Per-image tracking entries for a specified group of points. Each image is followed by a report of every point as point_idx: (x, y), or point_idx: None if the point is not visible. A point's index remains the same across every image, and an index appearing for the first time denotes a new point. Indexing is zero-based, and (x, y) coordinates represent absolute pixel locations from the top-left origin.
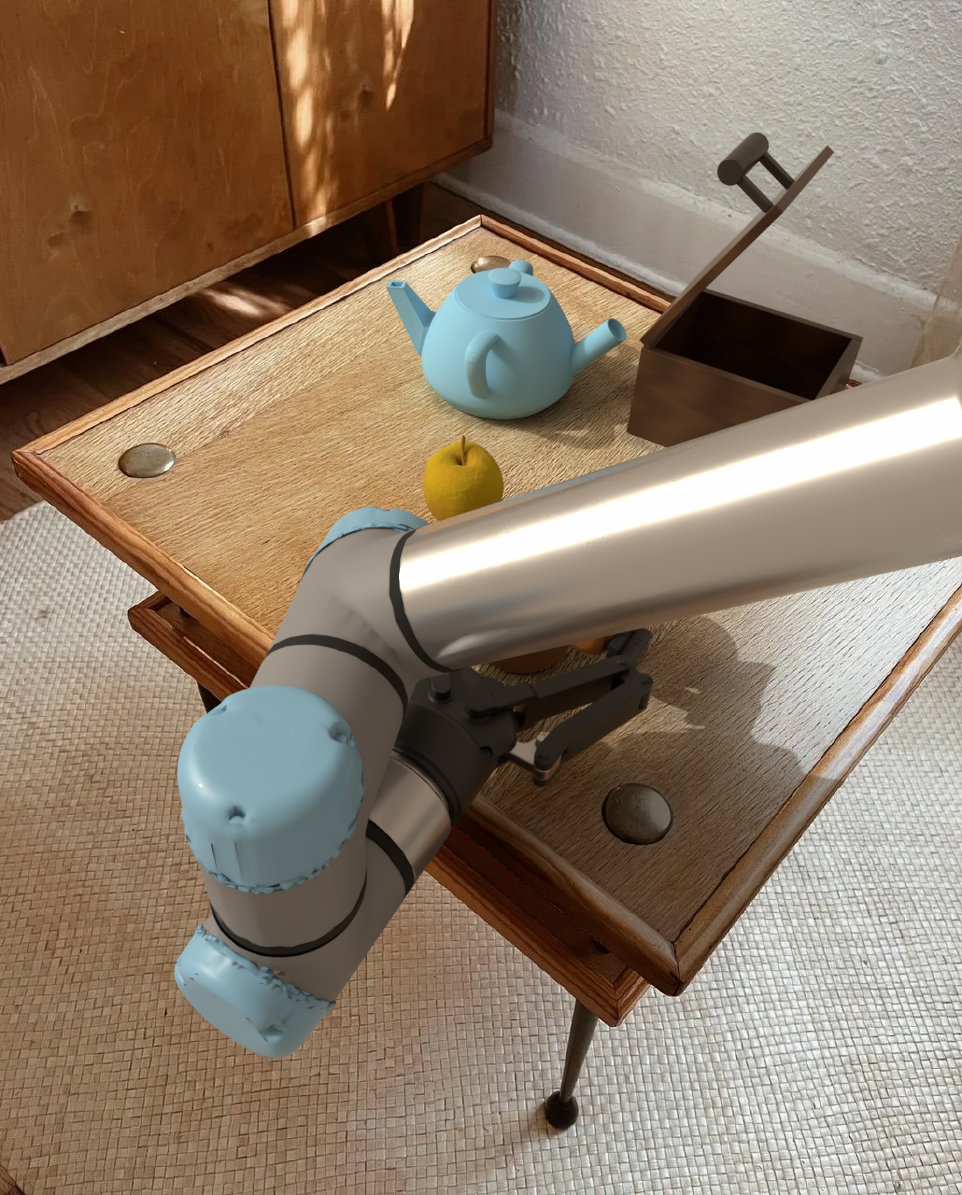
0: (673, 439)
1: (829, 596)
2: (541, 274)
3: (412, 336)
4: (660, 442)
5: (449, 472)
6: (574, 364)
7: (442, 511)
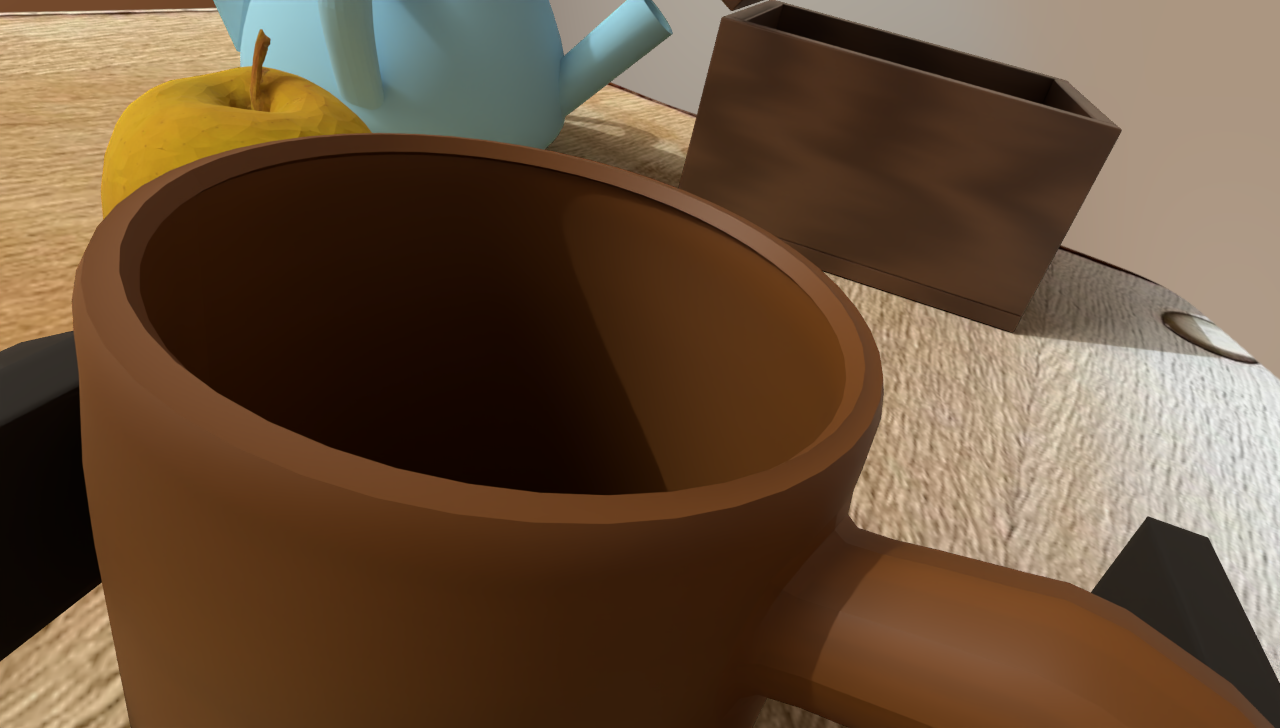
0: (770, 229)
1: (1261, 545)
2: None
3: (222, 5)
4: None
5: (183, 114)
6: (568, 82)
7: None
